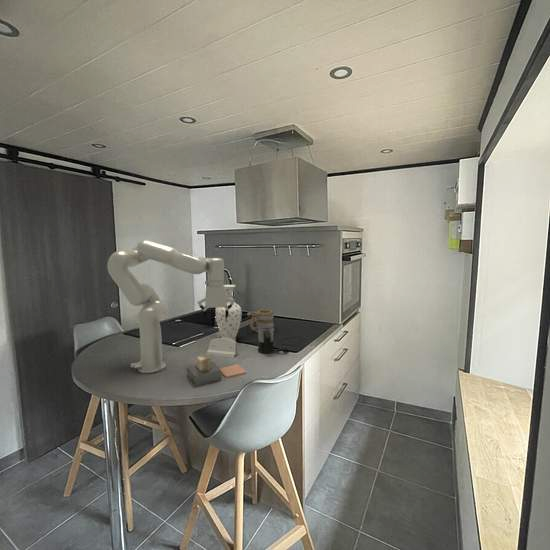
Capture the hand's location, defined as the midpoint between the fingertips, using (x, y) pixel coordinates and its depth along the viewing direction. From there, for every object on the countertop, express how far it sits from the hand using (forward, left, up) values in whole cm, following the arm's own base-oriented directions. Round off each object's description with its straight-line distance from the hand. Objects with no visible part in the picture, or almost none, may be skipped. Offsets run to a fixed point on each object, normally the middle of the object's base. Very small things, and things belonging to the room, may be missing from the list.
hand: (216, 318), depth 147 cm
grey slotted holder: (-10, -8, -25) cm, 28 cm away
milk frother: (+36, +4, -25) cm, 44 cm away
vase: (+21, +35, -25) cm, 48 cm away
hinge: (+10, +15, -26) cm, 31 cm away
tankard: (+47, +41, -25) cm, 67 cm away
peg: (-10, -8, -25) cm, 28 cm away
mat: (+4, -8, -25) cm, 27 cm away
